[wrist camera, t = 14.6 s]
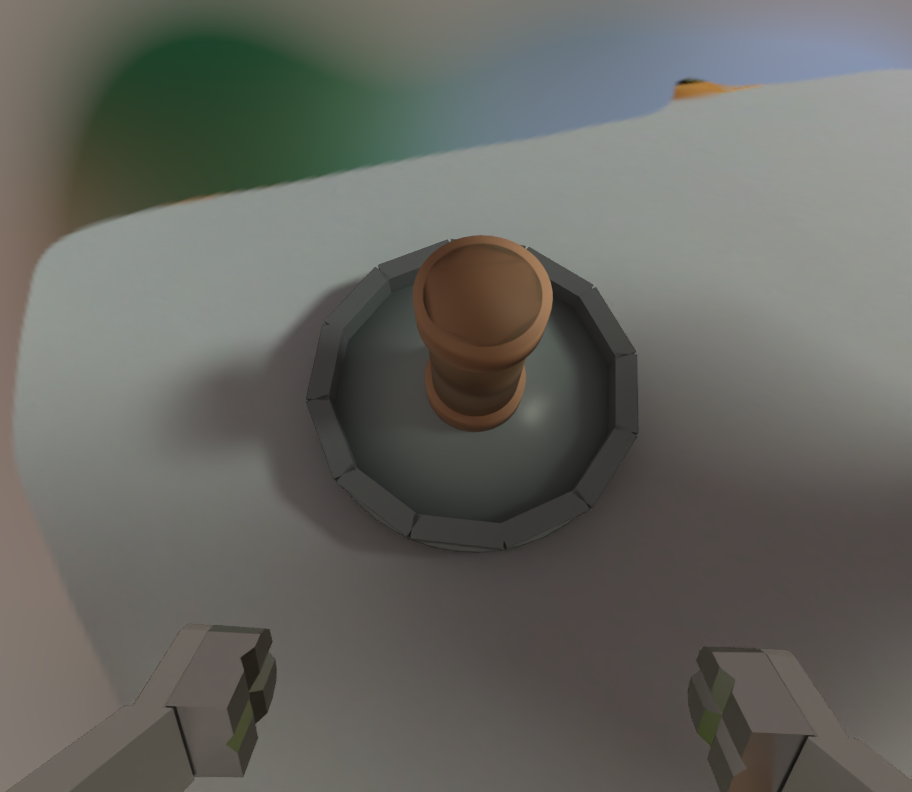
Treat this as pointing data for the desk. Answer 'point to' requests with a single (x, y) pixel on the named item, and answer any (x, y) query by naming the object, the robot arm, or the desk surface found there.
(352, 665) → the desk surface
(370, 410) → the round dish
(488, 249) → the brown flared cylinder
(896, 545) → the desk surface
